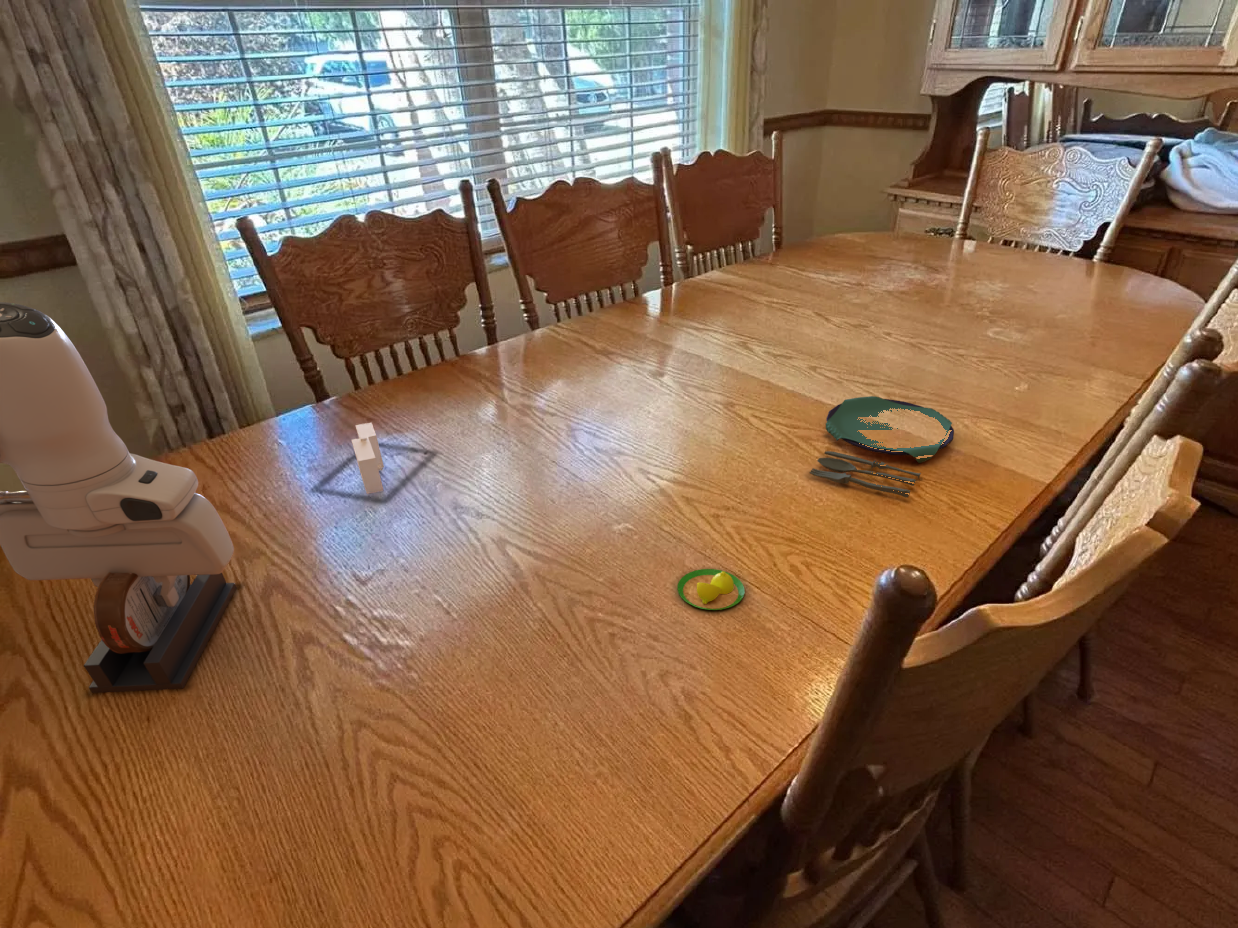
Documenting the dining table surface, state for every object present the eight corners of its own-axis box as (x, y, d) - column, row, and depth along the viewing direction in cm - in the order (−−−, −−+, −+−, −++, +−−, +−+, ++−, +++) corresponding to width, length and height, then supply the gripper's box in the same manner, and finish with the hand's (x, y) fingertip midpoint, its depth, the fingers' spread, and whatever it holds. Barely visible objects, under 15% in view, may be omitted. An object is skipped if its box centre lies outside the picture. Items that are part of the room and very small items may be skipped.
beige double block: (385, 503, 103) (376, 466, 99) (314, 492, 105) (302, 455, 102) (434, 454, 114) (428, 419, 110) (368, 445, 116) (360, 410, 112)
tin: (177, 583, 86) (142, 521, 81) (204, 581, 87) (172, 519, 81) (119, 671, 75) (74, 606, 70) (150, 668, 75) (108, 603, 70)
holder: (93, 694, 75) (73, 666, 73) (159, 592, 88) (145, 564, 85) (184, 690, 76) (168, 661, 73) (237, 589, 89) (225, 561, 86)
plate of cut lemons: (734, 620, 85) (737, 601, 83) (668, 604, 87) (669, 585, 85) (751, 581, 90) (753, 562, 88) (688, 567, 92) (689, 548, 91)
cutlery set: (962, 425, 123) (966, 411, 121) (919, 508, 103) (924, 493, 102) (845, 400, 130) (847, 387, 128) (784, 473, 110) (787, 459, 109)
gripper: (-48, 510, 67) (33, 627, 76) (187, 504, 68) (239, 619, 77) (-9, 475, 71) (64, 589, 81) (211, 470, 73) (257, 582, 82)
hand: (151, 604), depth 79 cm, fingers closed on tin, 2 cm apart
